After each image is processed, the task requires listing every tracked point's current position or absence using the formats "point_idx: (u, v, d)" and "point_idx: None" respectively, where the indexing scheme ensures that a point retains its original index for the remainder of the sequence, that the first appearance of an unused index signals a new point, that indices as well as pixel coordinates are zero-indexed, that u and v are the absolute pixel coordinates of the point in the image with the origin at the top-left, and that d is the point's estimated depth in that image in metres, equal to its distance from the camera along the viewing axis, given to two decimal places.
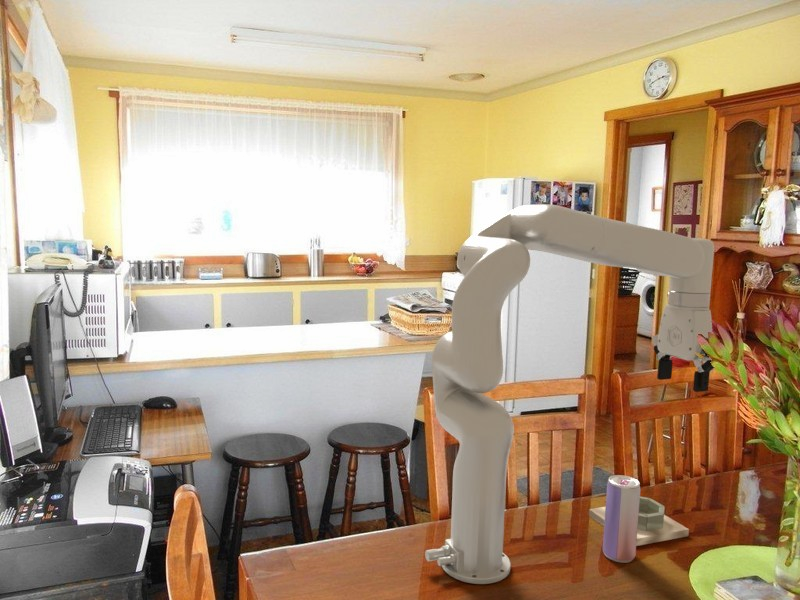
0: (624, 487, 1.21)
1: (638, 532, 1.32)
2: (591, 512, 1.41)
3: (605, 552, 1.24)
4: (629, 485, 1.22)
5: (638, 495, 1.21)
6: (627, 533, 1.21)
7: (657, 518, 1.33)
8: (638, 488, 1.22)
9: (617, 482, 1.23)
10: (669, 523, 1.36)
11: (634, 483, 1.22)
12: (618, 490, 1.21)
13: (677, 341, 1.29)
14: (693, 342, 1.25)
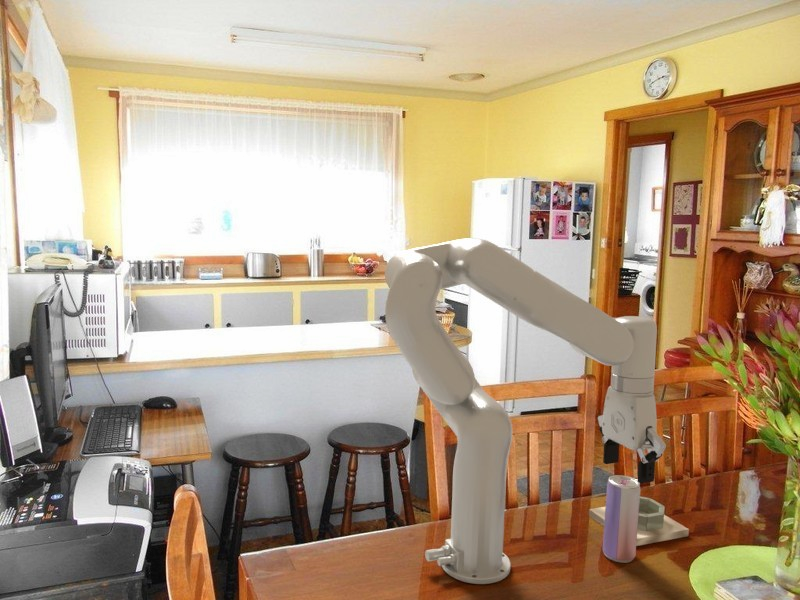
0: (624, 487, 1.21)
1: (638, 532, 1.32)
2: (591, 512, 1.41)
3: (605, 552, 1.24)
4: (629, 485, 1.22)
5: (638, 495, 1.21)
6: (627, 533, 1.21)
7: (657, 518, 1.33)
8: (638, 488, 1.22)
9: (617, 482, 1.23)
10: (669, 523, 1.36)
11: (634, 483, 1.22)
12: (618, 490, 1.21)
13: (620, 428, 1.20)
14: (636, 431, 1.17)
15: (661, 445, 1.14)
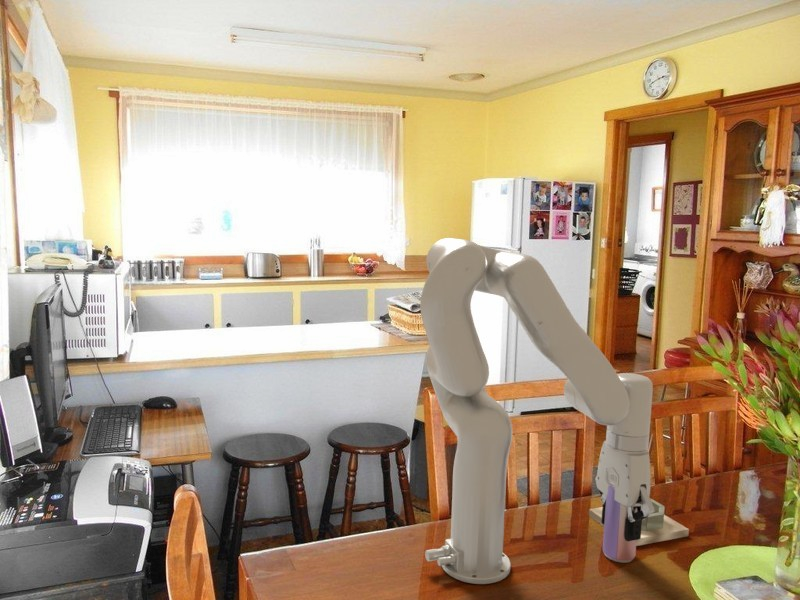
0: None
1: None
2: (591, 512, 1.41)
3: (605, 552, 1.24)
4: None
5: None
6: None
7: (657, 518, 1.33)
8: None
9: None
10: (669, 523, 1.36)
11: None
12: None
13: (614, 484, 1.22)
14: (630, 489, 1.18)
15: (650, 510, 1.16)
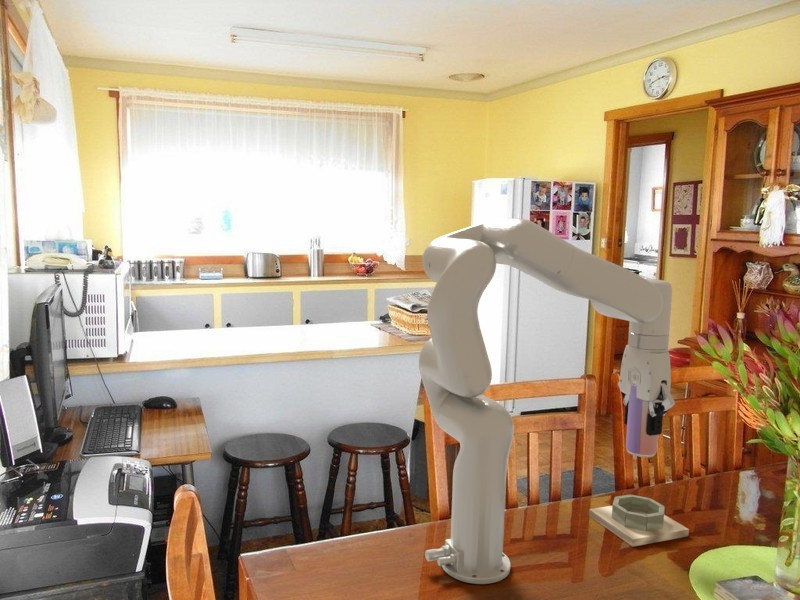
0: None
1: (638, 532, 1.32)
2: (591, 512, 1.41)
3: (628, 448, 1.32)
4: None
5: None
6: None
7: (657, 518, 1.33)
8: None
9: None
10: (669, 523, 1.36)
11: None
12: None
13: (636, 382, 1.30)
14: (651, 384, 1.26)
15: (671, 403, 1.24)
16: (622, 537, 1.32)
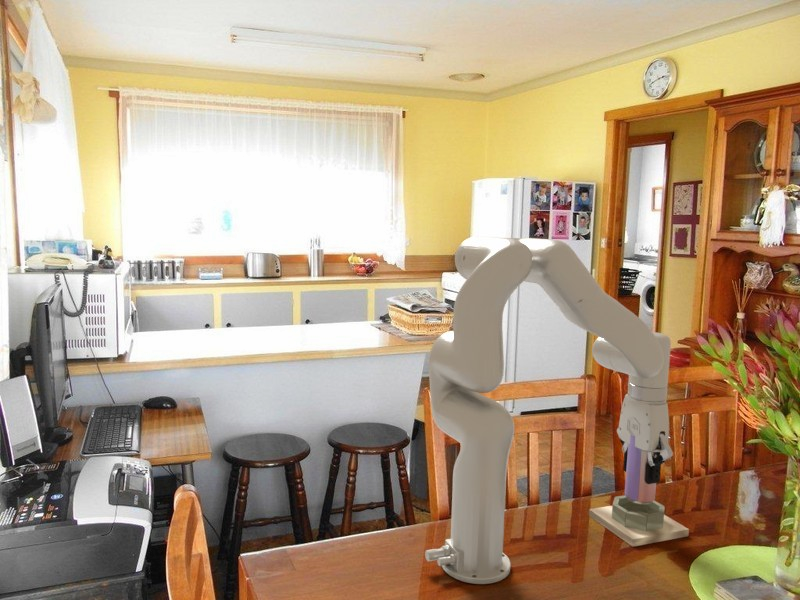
0: None
1: (638, 532, 1.32)
2: (591, 512, 1.41)
3: (627, 495, 1.36)
4: None
5: None
6: None
7: (657, 518, 1.33)
8: None
9: None
10: (669, 523, 1.36)
11: None
12: None
13: (635, 432, 1.34)
14: (650, 435, 1.30)
15: (669, 454, 1.28)
16: (622, 537, 1.32)
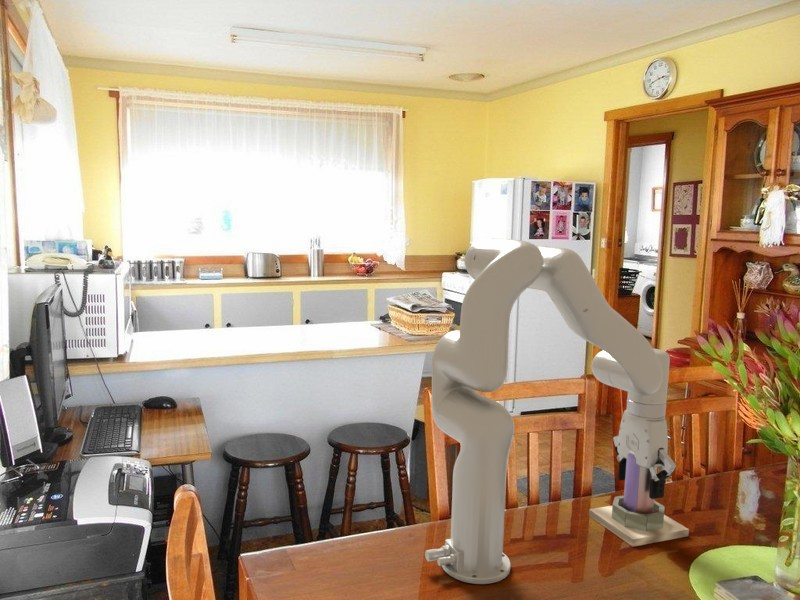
0: None
1: (638, 532, 1.32)
2: (591, 512, 1.41)
3: None
4: None
5: (655, 463, 1.34)
6: (645, 497, 1.34)
7: (657, 518, 1.33)
8: None
9: None
10: (669, 523, 1.36)
11: None
12: None
13: (634, 448, 1.34)
14: (649, 452, 1.30)
15: (672, 465, 1.28)
16: (622, 537, 1.32)
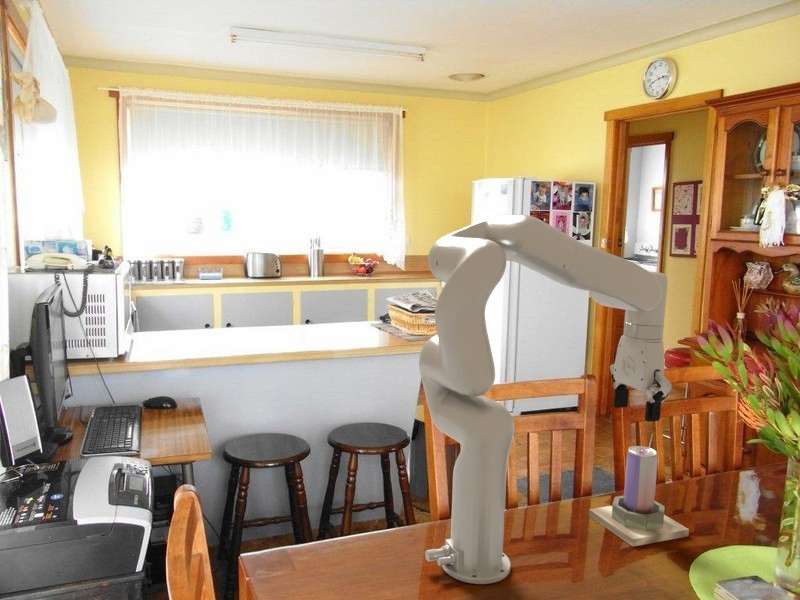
0: (643, 456, 1.33)
1: (638, 532, 1.32)
2: (591, 512, 1.41)
3: None
4: (647, 454, 1.34)
5: (655, 463, 1.34)
6: (645, 497, 1.34)
7: (657, 518, 1.33)
8: (655, 457, 1.34)
9: (636, 452, 1.35)
10: (669, 523, 1.36)
11: (652, 452, 1.35)
12: (637, 458, 1.33)
13: (630, 371, 1.33)
14: (645, 373, 1.29)
15: (668, 385, 1.26)
16: (622, 537, 1.32)
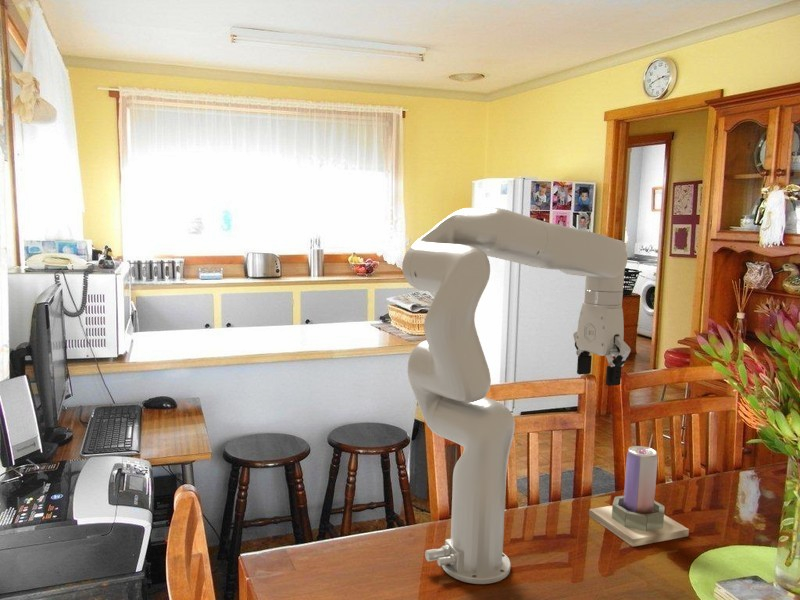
0: (643, 456, 1.33)
1: (638, 532, 1.32)
2: (591, 512, 1.41)
3: None
4: (647, 454, 1.34)
5: (655, 463, 1.34)
6: (645, 497, 1.34)
7: (657, 518, 1.33)
8: (655, 457, 1.34)
9: (636, 452, 1.35)
10: (669, 523, 1.36)
11: (652, 452, 1.35)
12: (637, 458, 1.33)
13: (591, 337, 1.35)
14: (605, 338, 1.31)
15: (626, 348, 1.29)
16: (622, 537, 1.32)
